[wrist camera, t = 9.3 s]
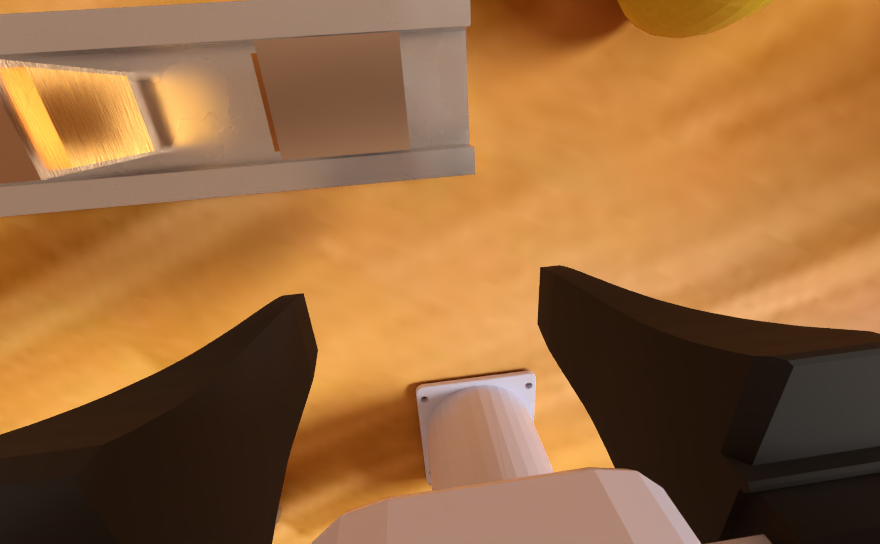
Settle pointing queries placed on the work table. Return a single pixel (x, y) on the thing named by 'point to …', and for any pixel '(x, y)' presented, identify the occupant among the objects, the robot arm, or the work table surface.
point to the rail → (204, 101)
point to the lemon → (687, 15)
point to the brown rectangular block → (333, 94)
